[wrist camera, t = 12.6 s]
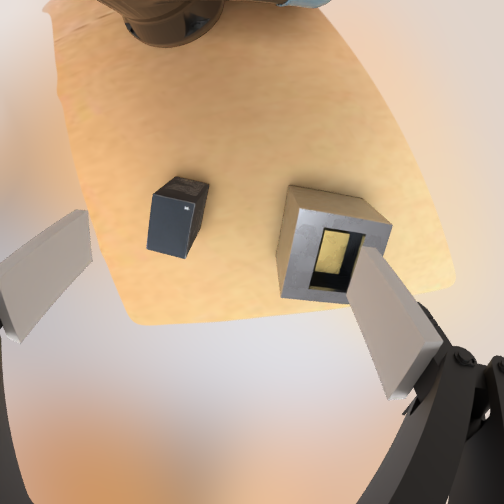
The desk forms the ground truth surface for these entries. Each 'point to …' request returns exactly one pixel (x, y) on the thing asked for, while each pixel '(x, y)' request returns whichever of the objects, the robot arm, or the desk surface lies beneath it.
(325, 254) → the yellow rectangular block
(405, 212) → the desk surface
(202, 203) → the box
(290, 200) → the gray slotted cube
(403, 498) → the robot arm
